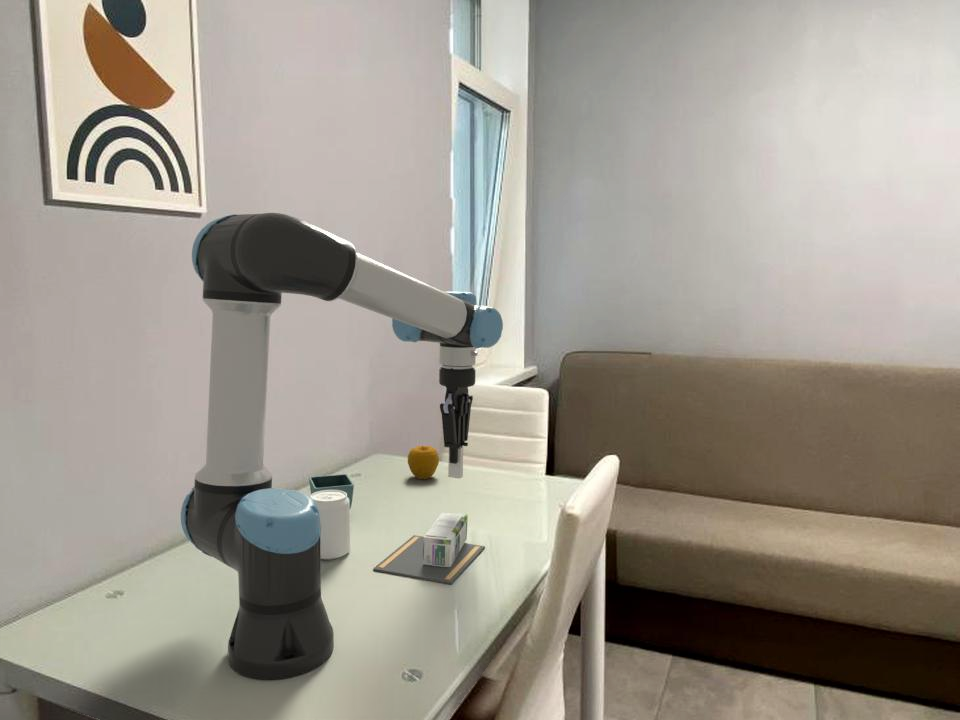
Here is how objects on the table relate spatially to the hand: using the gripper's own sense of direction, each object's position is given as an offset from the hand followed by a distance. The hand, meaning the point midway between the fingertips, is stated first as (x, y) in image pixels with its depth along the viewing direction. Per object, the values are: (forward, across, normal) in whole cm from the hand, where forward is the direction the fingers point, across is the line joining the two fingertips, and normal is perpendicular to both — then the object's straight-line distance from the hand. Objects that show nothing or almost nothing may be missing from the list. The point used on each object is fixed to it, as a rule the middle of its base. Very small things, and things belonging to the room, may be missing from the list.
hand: (455, 476), depth 150 cm
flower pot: (+14, -1, +30) cm, 33 cm away
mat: (+13, -12, 0) cm, 18 cm away
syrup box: (+10, -2, -1) cm, 10 cm away
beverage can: (+14, -18, +20) cm, 30 cm away
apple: (+13, +36, +24) cm, 45 cm away
